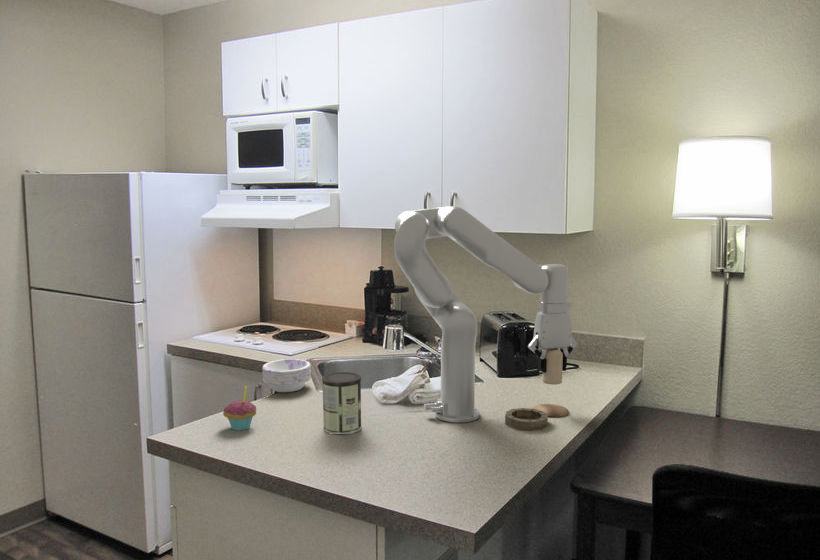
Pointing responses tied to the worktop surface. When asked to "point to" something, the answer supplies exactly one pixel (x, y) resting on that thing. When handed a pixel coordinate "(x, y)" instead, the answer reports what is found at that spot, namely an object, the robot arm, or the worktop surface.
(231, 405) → the cupcake
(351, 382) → the coffee can
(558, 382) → the candle
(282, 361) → the paper bowls
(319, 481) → the worktop surface
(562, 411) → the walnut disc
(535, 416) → the ring
